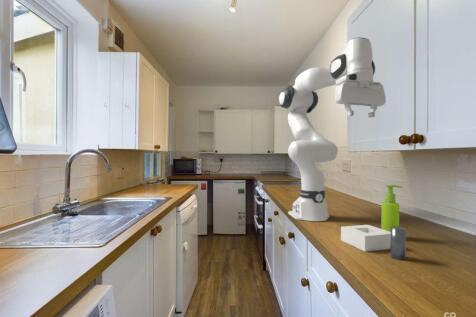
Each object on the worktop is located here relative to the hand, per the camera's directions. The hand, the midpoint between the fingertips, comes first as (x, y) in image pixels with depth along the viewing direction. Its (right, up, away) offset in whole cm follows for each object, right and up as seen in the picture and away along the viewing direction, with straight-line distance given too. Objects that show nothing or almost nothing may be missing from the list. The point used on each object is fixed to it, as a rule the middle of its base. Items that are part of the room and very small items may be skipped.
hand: (361, 116), depth 100 cm
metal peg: (+2, -46, -19) cm, 50 cm away
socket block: (-1, -46, -6) cm, 46 cm away
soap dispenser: (+12, -46, +2) cm, 48 cm away
